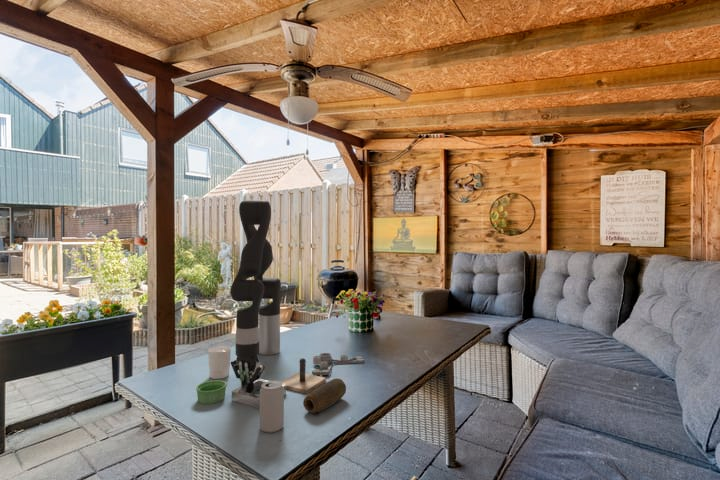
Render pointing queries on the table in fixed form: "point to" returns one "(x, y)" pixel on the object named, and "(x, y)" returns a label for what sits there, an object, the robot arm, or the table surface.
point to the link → (248, 398)
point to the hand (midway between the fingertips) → (247, 392)
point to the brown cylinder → (324, 395)
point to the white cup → (219, 361)
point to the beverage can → (271, 406)
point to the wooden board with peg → (303, 380)
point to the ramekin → (211, 391)
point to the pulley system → (326, 359)
